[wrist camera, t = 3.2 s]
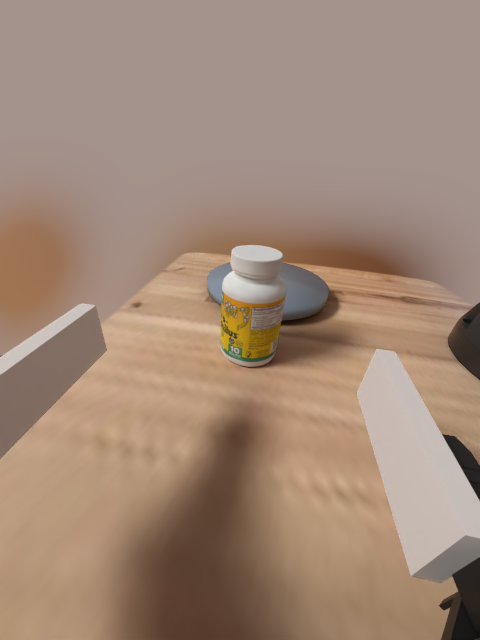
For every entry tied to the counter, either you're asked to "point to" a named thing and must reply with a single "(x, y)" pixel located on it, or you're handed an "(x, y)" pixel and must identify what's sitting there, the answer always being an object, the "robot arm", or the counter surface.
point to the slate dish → (301, 290)
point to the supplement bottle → (252, 305)
